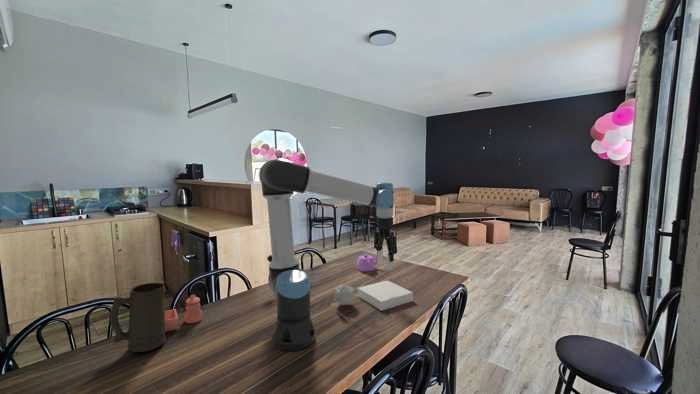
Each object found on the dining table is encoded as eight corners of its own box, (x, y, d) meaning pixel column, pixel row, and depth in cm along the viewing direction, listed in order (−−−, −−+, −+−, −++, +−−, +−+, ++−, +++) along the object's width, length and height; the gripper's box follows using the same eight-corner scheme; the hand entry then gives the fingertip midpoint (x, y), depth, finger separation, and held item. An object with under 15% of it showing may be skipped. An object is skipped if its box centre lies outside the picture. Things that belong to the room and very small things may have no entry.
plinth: (381, 310, 125) (381, 301, 124) (357, 296, 140) (357, 287, 140) (412, 300, 134) (412, 292, 134) (387, 288, 149) (387, 280, 149)
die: (332, 303, 132) (331, 281, 132) (350, 300, 135) (350, 278, 135) (337, 311, 124) (337, 288, 124) (357, 308, 127) (357, 285, 127)
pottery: (148, 336, 105) (147, 308, 105) (148, 325, 113) (147, 300, 112) (204, 322, 115) (203, 297, 115) (200, 313, 123) (200, 290, 123)
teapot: (360, 275, 169) (360, 258, 168) (354, 268, 182) (354, 252, 181) (385, 273, 172) (385, 256, 171) (377, 266, 185) (377, 251, 184)
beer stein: (161, 332, 109) (158, 279, 107) (173, 342, 102) (170, 285, 101) (108, 351, 97) (104, 292, 95) (118, 364, 90) (114, 301, 89)
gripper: (406, 218, 128) (405, 270, 130) (378, 213, 144) (378, 259, 146) (392, 220, 124) (392, 273, 126) (365, 214, 140) (366, 262, 142)
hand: (385, 266), depth 136 cm, fingers open, 7 cm apart
